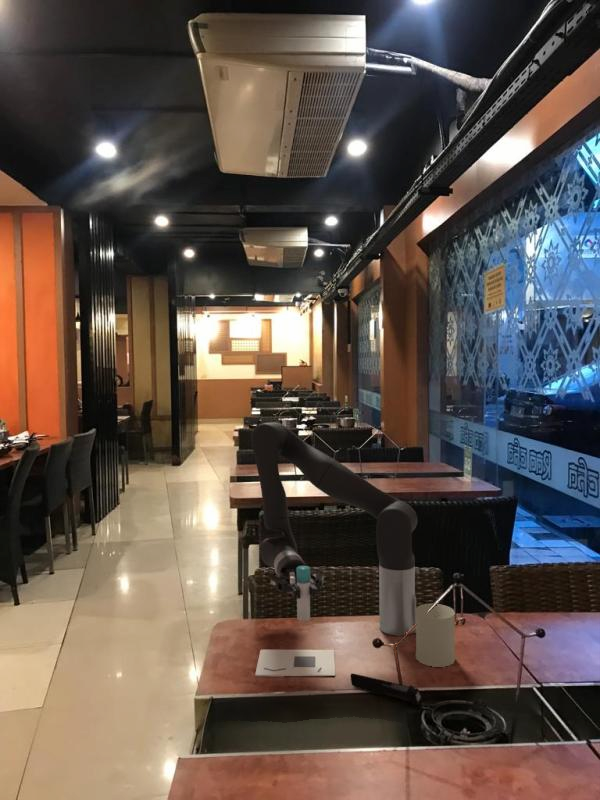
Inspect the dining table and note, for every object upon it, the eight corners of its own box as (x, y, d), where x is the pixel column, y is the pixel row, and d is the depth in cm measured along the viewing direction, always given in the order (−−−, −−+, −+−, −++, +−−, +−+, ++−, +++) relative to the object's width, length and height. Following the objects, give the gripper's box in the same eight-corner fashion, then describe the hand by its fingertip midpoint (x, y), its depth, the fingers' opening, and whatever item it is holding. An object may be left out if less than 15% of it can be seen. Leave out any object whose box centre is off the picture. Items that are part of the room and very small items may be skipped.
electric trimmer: (354, 682, 134) (354, 668, 134) (423, 699, 126) (422, 684, 126) (348, 690, 130) (347, 676, 130) (417, 708, 123) (417, 693, 123)
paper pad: (333, 651, 147) (333, 649, 147) (335, 676, 135) (335, 674, 135) (260, 651, 148) (260, 649, 148) (255, 676, 136) (255, 674, 136)
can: (419, 668, 139) (419, 617, 138) (411, 649, 148) (411, 601, 147) (459, 667, 139) (459, 616, 138) (449, 648, 148) (449, 601, 147)
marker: (310, 615, 142) (310, 565, 142) (310, 621, 139) (310, 570, 139) (297, 615, 143) (296, 565, 142) (296, 621, 139) (296, 570, 139)
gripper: (263, 556, 153) (276, 580, 136) (317, 552, 156) (335, 575, 139) (263, 585, 153) (276, 612, 136) (317, 580, 156) (336, 606, 139)
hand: (306, 593), depth 138 cm, fingers closed on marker, 3 cm apart
